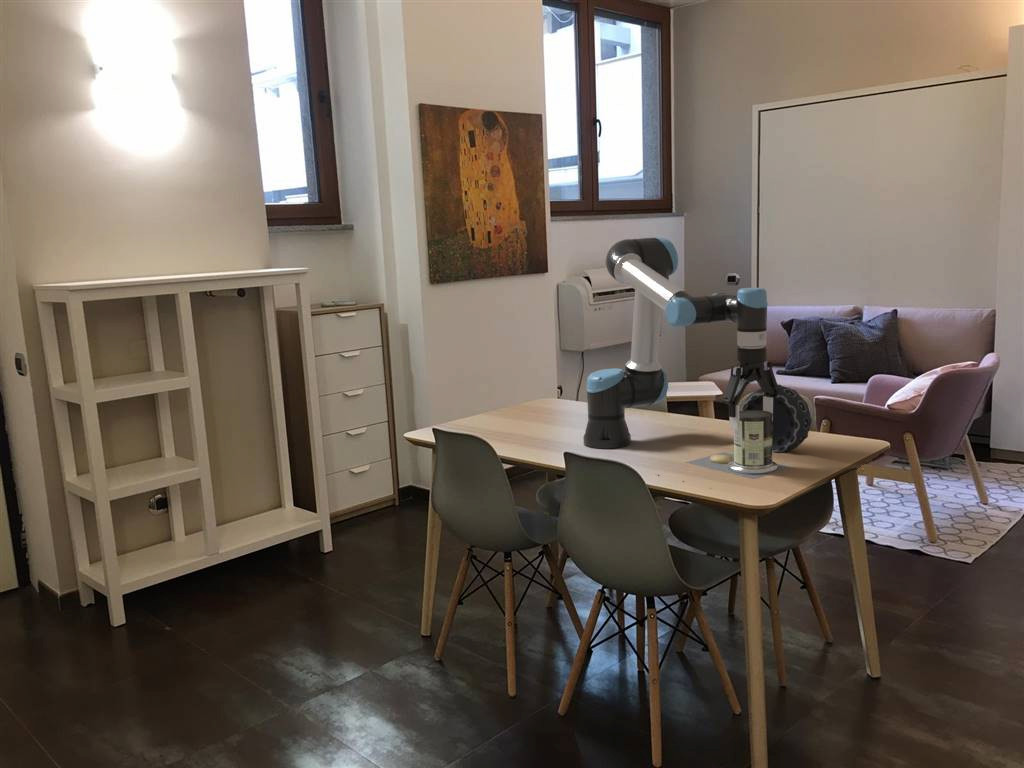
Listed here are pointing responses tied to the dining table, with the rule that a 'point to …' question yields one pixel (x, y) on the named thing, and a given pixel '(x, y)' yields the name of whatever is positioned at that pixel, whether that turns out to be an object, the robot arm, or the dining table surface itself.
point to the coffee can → (753, 440)
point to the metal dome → (751, 471)
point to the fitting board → (722, 461)
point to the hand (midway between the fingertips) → (751, 424)
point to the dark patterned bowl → (784, 417)
